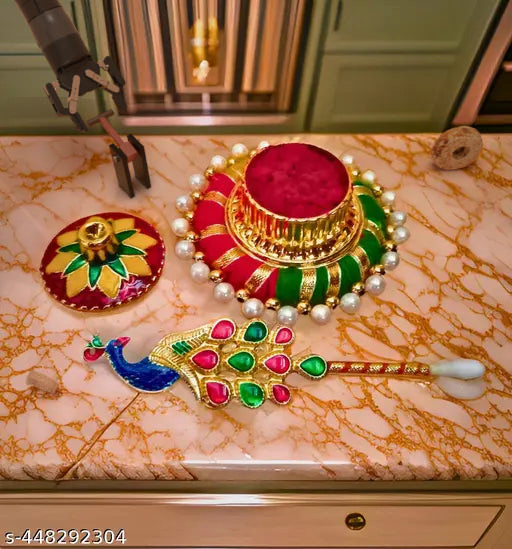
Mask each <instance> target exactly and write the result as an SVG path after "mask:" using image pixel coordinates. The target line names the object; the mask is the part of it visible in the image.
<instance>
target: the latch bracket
mask: <svg viewBox="0 0 512 549" xmlns="http://www.w3.org/2000/svg"><path fill="white" fill-rule="evenodd" d="M126 140H127V142H128V141H129V142H130V144H131V145H132V146H133V147H134V149H135V150H136V151H137V159H135V160H133V161H131V164H132V167H133V173H134V177H135V178H136V180H138V181H139V182H140V184H142V185H143V186H144V188H145V189H146V190H149V189H151V188H152V182H151V178H150V172H149V166H148V161H147V154H146V150H145V145H143V144H142V142H140V141H139V139H137V137H135V136H134V135H133V133H129V134H127V135H126ZM108 148H109V151H110V156H111V159H112V164H113V167H114V172H115V176H116V180H117V184H118V187H119V188H120V189H121V191H123V192H124V193H125V194H126V195H127V196H128V198H130V200H132V199H133V198H135V197H136V194H135V189H134V186H133V180H132V176H131V171H130V167H129V163H128V162H127V157H126V155H125V154H124V153H123V152H122V151H121V150H120V149H119V146H118V145H117V144H116V143H115V142H112V143H110V144H108Z"/></svg>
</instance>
